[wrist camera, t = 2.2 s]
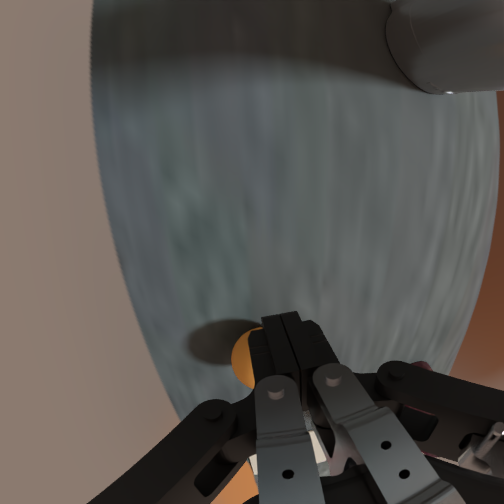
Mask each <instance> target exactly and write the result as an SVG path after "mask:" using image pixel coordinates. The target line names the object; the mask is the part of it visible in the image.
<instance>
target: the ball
mask: <svg viewBox="0 0 504 504" xmlns="http://www.w3.org/2000/svg"><path fill="white" fill-rule="evenodd" d="M259 329H263V328H262V327H259V328H255V329H252V330H259ZM252 330H250V331H248V332H246V333H245V334H243V335H242V336H241V337H240V338H239V339H238V341H237V342H236V344H235V346H234V348H233V351H232V356H231V362H232V368H233V370H234V373H235V375H236V376H237V378H238V379H239V380H240V381H241V382H242V383H243V384H245V385H246V386H248V387H250V388H252V389H254V385H255V381H254V375H253V369H252V363H251V357H250V352H249V346H248V340H247V339H248V336H249V334H250V332H251V331H252Z"/></svg>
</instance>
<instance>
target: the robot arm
mask: <svg viewBox="0 0 504 504" xmlns="http://www.w3.org/2000/svg"><path fill="white" fill-rule="evenodd" d="M390 5H391V9H392V13H391V15H390V16H389V18H388V19H387V23H386V38H387V43H388V46H389V49H390V51H391V54H392V56H393V58H394V59H395V61H396V63H397V65H398V66H399V67H400V69H401V70H402V72H403V73H404V74H405V75H406V76H407V77H408V78H409V80H410V81H412V82H413V83H414V84H415V85H416V86H417V87H419V88H421V89H422V90H424V91H426V92H428V93H431V94H436V95H443V94H457V93H462V92H476V91H495V90H504V0H396V1H394V2H392V3H391V4H390ZM261 319H262V328H263V329H259V330H252V331H251V332H250V334H249V336H248V339H247V340H248V346H249V352H250V357H251V363H252V369H253V375H254V381H255V385H254V389H253V391H252V392H251V393H250V395H248V396H247V397H246V398H244V399H243V400H241V401H238V402H236V403H233V404H230V403H229V402H227V401H224V400H220V399H212V400H208V401H205V402H203V403H201V404H199V405H198V406H197V407H196V408H195V409H194V410H193V411H192V412H191V413H190V414H189V415H188V416H187V417H186V418H185V419H184V420H183V421H181V422H180V423H179V424H178V425H177V426H176V427H175V428H174V429H173V430H172V431H171V432H170V433H169V434H168V435H167V436H166V437H165V438H164V439H162V440H161V441H160V442H159V443H158V444H157V445H156V446H155V447H154V448H153V449H152V450H150V451H149V452H148V453H147V454H146V455H145V456H144V457H143V458H142V459H140V460H139V461H138V462H137V463H136V464H135V465H134V466H132V467H131V468H130V469H129V470H128V471H126V472H125V473H124V474H123V475H122V476H121V477H119V478H118V479H117V480H116V481H115V482H113V483H112V484H111V485H110V486H109V487H107V488H106V489H105V490H104V491H102V492H101V493H100V494H99V495H97V496H96V497H95V498H93V499H92V500H91V501H90V502H88V503H87V504H210V503H211V502H212V501H213V500H214V499H215V498H216V497H217V495H218V494H219V493H220V492H221V491H222V490H223V489H224V487H225V486H226V485H227V484H228V483H229V481H230V480H231V479H232V478H233V477H234V475H235V474H236V473H237V472H238V471H239V469H240V468H241V467H242V466H243V464H244V463H245V462H246V460H247V458H248V457H250V456H253V455H255V454H256V456H257V472H258V489H259V494H258V495H256V496H254V497H252V498H250V499H249V500H247V501H246V502H244V503H243V504H504V391H502V390H498V389H494V388H490V387H486V386H483V385H479V384H475V383H471V382H468V381H465V380H461V379H457V378H454V377H451V376H447V375H444V374H441V373H437V372H434V371H431V370H427V369H424V368H421V367H418V366H415V365H412V364H409V363H406V362H402V361H389V362H386V363H384V364H382V365H381V366H380V367H379V369H378V371H377V373H364V374H359V373H354V372H352V371H351V369H350V368H348V367H347V366H345V365H342V364H340V362H339V361H338V359H337V357H336V355H335V353H334V352H333V350H332V348H331V346H330V344H329V342H328V341H327V339H326V337H325V335H324V334H323V332H322V330H321V328H320V326H319V325H318V324H316V323H315V322H313V321H312V320H307V321H301V318H300V316H299V314H298V312H297V311H293V312H287V313H282V314H277V315H271V316H265V317H261ZM405 405H408V406H410V407H413V408H416V409H419V410H422V411H425V412H428V413H431V414H434V415H429V414H426V413H424V412H421V411H418V410H415V409H412V408H409V407H406V406H405ZM307 410H309V411H310V414H311V426H312V428H313V431H314V433H315V435H316V437H317V439H318V442H319V444H320V446H321V448H322V450H323V453H324V455H325V457H326V459H327V462H328V464H329V470H330V475H331V476H325V477H320V476H319V472H318V467H317V463H316V458H315V453H314V449H313V444H312V440H311V436H310V433H309V432H307V429H306V425H305V420H304V416H303V411H307ZM420 450H422V451H424V452H427V453H430V454H433V455H436V456H440V457H443V458H446V459H449V460H453V461H456V462H458V464H459V466H457V465H454V464H451V463H448V462H445V461H442V460H440V459H437V458H434V457H431V456H428V455H424V454H423V453H422V452H421V451H420Z"/></svg>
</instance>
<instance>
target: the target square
mask: <svg viewBox="0 0 504 504" xmlns="http://www.w3.org/2000/svg"><path fill="white" fill-rule="evenodd" d="M307 432H309V433H310V436H311V440H312V444H313V449H314V453H315V458H316V463H319V462H323V461H326V457H325V455H324V453H323V450H322V448H321V446H320V444H319V442H318V439H317V437H316V435H315V433H314V431H313V430H311V431H307ZM249 458H250V462H251V465H252V469H253V472H254V475H255V474H258V472H257V456H256V454H255V455H253V456H250V457H249Z"/></svg>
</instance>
